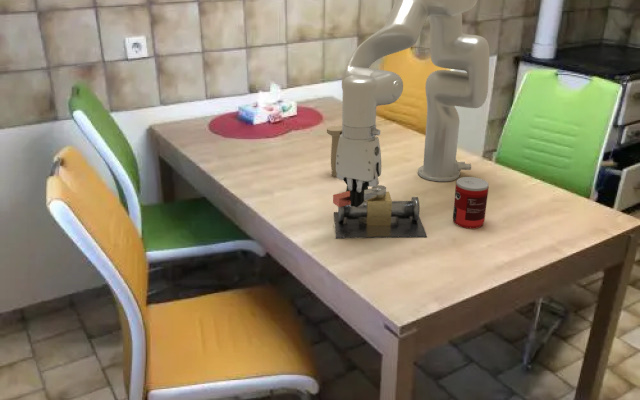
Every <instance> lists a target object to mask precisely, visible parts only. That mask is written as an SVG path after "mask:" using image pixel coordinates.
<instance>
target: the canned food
mask: <svg viewBox="0 0 640 400" xmlns="http://www.w3.org/2000/svg"><path fill="white" fill-rule="evenodd" d="M454 191H455V192H454V201H453V213H452V220H453V223H454V224H455V225H457V226H458V227H460V228H464V229H479V228H481V227H482V226H483V225H484V223H485V219H486V218H485V217H486V210H487V202H488V194H489V182H488V181H486V180H485V179H483V178H481V177H476V176H475V177H474V176H462V177H460V178H459V177H458V178H457V179H456V183H455V190H454Z"/></svg>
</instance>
